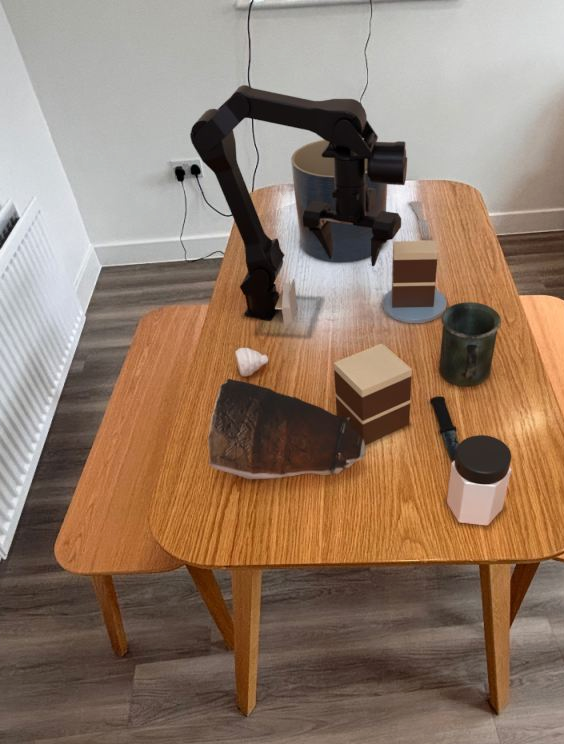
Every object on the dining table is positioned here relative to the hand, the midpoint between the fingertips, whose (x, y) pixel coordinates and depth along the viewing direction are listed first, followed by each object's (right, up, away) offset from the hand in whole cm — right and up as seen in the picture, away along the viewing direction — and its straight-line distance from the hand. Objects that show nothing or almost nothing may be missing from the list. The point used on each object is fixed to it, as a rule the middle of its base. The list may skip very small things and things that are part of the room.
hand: (352, 261), depth 129 cm
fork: (+18, +26, +39) cm, 50 cm away
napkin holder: (-14, -8, +11) cm, 19 cm away
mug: (+22, -24, -4) cm, 33 cm away
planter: (-2, +18, +32) cm, 37 cm away
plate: (+14, -5, +12) cm, 19 cm away
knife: (+17, -38, -15) cm, 44 cm away
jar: (+20, -50, -26) cm, 60 cm away
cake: (+4, -34, -12) cm, 36 cm away
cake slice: (+13, -4, +12) cm, 18 cm away
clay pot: (-10, -42, -18) cm, 47 cm away
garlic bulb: (-20, -23, -1) cm, 30 cm away
